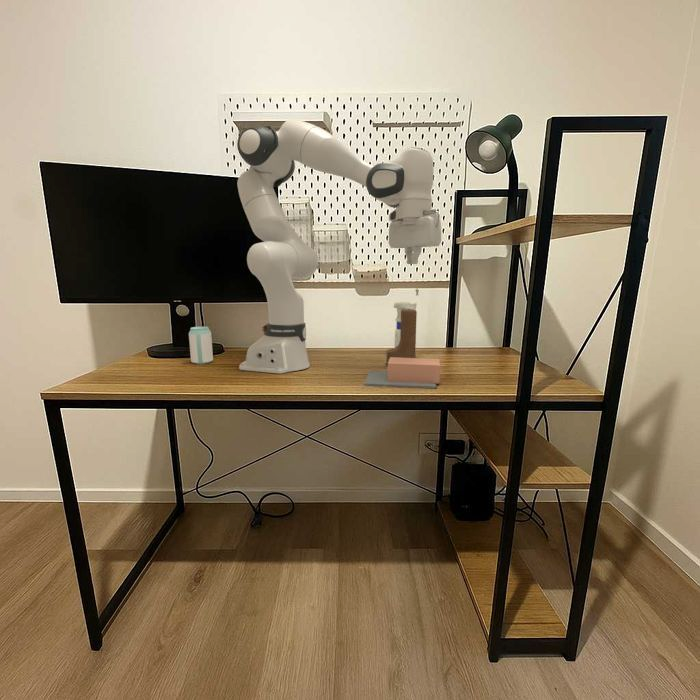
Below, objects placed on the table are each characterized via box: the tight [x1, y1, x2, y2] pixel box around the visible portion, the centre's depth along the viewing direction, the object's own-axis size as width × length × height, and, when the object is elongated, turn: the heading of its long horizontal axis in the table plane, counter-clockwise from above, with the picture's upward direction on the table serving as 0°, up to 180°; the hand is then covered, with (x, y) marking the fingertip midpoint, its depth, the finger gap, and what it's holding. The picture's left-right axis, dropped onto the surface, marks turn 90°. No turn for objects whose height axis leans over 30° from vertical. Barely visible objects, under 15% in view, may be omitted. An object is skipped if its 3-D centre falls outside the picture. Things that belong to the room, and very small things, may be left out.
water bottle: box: [393, 287, 420, 349], centre depth 141 cm, size 8×9×25 cm
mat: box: [363, 370, 437, 389], centre depth 111 cm, size 19×14×1 cm
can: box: [188, 326, 214, 365], centre depth 133 cm, size 7×7×12 cm
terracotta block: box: [387, 357, 441, 384], centre depth 110 cm, size 5×8×14 cm
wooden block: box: [386, 309, 418, 365], centre depth 129 cm, size 9×4×18 cm, turn 90°
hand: (412, 264), depth 111 cm, fingers closed
